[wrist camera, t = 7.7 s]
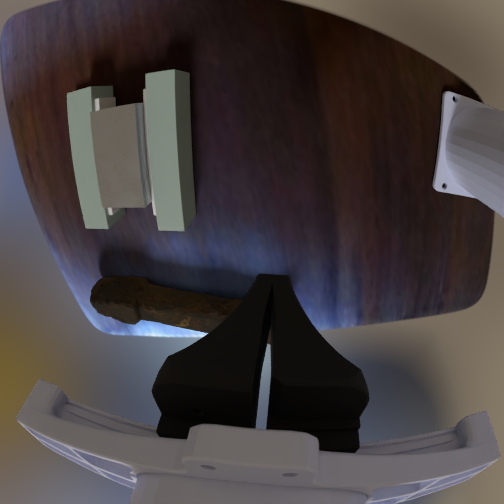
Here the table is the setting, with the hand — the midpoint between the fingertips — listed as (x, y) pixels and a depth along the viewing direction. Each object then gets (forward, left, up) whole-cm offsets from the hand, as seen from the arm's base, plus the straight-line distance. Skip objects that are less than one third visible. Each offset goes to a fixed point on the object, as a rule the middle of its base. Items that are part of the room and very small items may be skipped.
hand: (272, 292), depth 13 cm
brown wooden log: (+8, +9, -10) cm, 16 cm away
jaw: (+7, -5, -10) cm, 13 cm away
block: (+11, -5, -10) cm, 16 cm away
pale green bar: (+14, -5, -10) cm, 18 cm away
